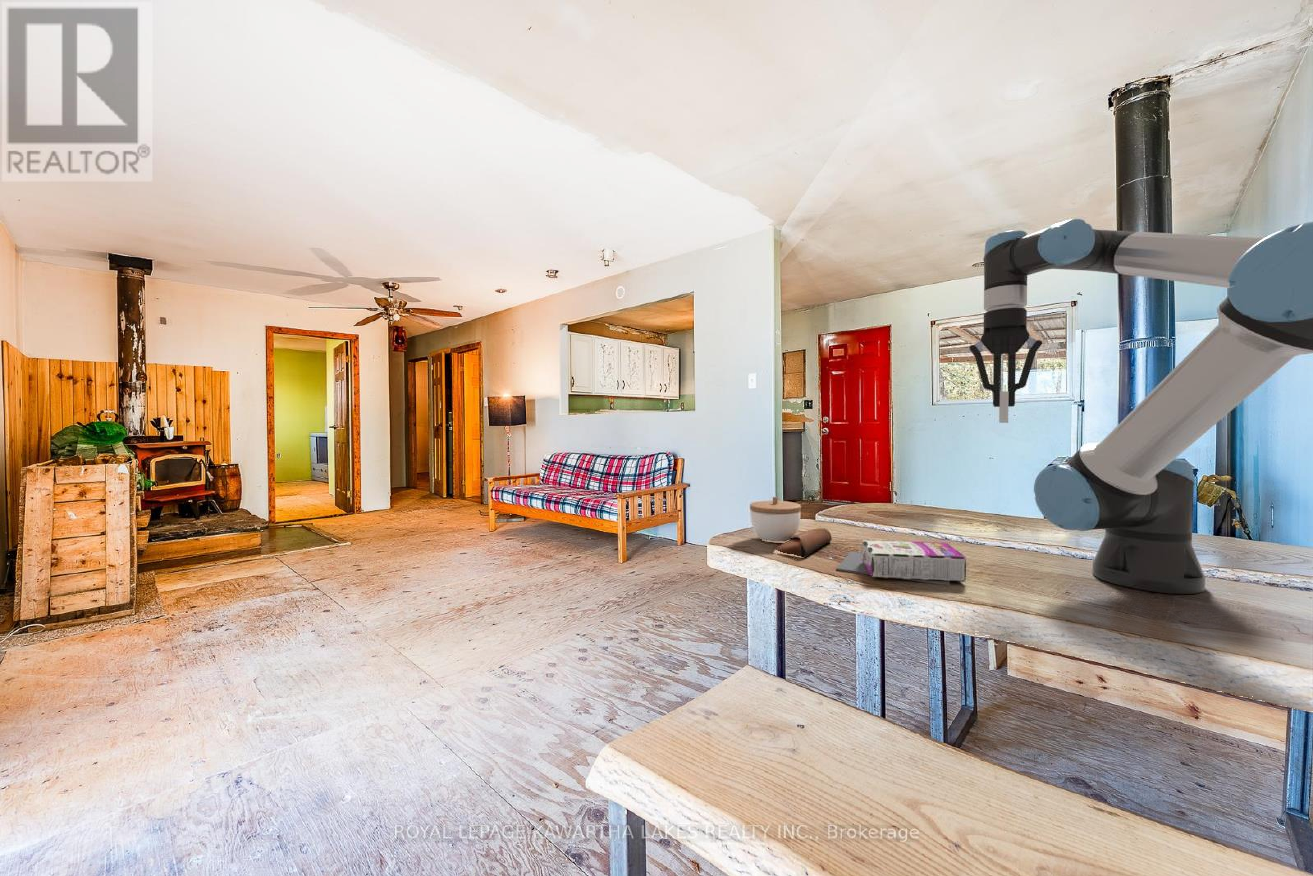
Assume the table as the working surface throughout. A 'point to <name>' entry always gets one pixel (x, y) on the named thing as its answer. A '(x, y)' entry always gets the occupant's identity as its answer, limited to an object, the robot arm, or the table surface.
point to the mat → (857, 566)
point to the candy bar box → (913, 560)
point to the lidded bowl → (775, 519)
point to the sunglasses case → (806, 542)
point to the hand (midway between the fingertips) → (1003, 422)
